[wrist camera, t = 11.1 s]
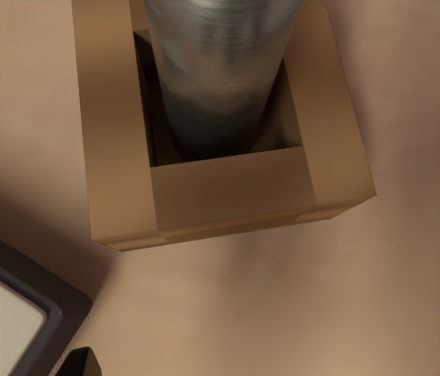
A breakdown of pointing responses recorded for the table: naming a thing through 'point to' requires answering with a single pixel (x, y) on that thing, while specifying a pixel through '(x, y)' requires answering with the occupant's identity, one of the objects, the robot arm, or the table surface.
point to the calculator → (35, 315)
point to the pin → (217, 68)
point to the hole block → (219, 167)
